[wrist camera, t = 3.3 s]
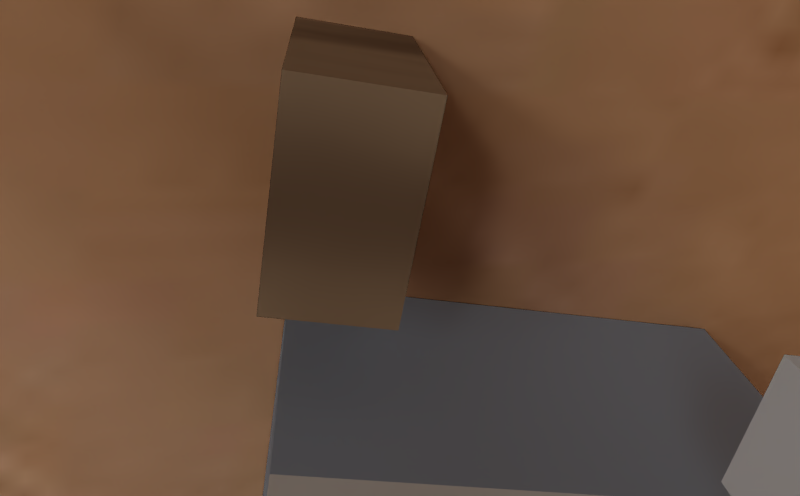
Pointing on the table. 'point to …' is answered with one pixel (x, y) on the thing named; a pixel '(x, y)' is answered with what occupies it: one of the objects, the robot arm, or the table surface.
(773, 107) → the table surface
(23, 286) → the table surface
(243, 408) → the table surface
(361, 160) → the brown rectangular block
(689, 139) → the table surface
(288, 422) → the coin box
